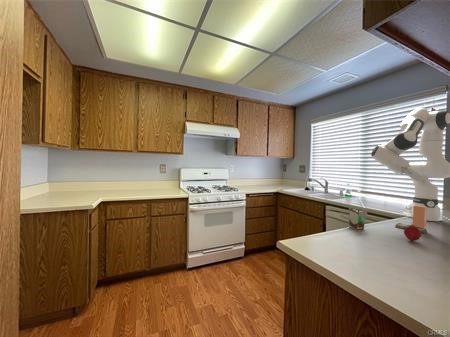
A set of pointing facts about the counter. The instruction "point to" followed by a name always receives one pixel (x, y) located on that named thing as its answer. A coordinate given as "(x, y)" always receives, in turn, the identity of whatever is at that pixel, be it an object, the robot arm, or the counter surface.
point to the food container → (357, 218)
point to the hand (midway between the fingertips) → (424, 181)
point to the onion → (412, 233)
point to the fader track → (403, 226)
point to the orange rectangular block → (419, 216)
